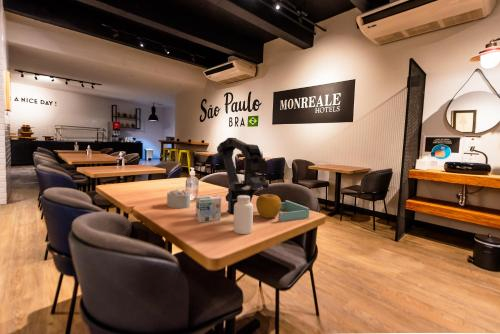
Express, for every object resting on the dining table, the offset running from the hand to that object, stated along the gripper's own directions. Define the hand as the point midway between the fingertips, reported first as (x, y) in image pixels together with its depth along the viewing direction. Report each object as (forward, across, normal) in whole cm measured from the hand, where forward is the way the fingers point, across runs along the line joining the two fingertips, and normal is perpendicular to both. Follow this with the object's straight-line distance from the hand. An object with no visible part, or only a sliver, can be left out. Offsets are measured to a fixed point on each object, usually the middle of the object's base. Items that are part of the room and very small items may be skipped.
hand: (249, 202), depth 128 cm
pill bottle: (+8, -10, -15) cm, 20 cm away
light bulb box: (+8, -18, +6) cm, 21 cm away
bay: (+8, +21, 0) cm, 22 cm away
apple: (+8, +12, 0) cm, 14 cm away
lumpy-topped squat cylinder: (+8, -25, +36) cm, 45 cm away
